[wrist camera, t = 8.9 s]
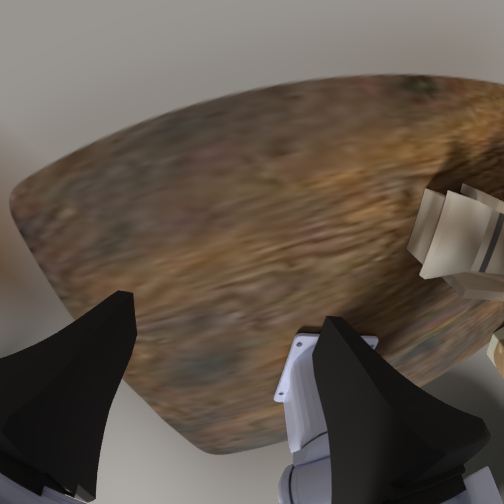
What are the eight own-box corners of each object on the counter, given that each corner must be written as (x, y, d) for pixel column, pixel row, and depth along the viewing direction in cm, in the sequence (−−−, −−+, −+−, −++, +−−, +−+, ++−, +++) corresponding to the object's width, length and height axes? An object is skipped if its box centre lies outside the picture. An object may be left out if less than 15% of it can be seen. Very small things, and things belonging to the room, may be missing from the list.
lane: (509, 280, 22) (532, 301, 18) (396, 264, 21) (424, 295, 17) (533, 217, 19) (560, 233, 15) (425, 168, 17) (463, 183, 13)
